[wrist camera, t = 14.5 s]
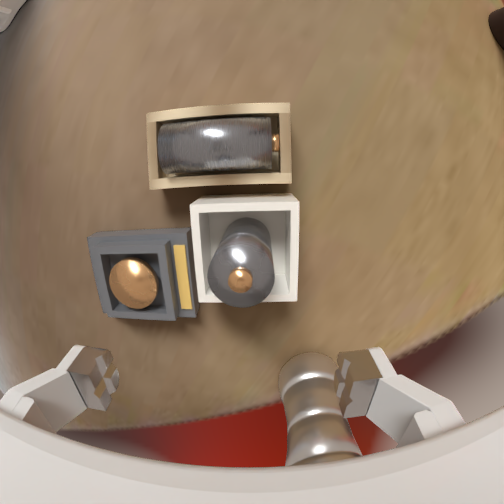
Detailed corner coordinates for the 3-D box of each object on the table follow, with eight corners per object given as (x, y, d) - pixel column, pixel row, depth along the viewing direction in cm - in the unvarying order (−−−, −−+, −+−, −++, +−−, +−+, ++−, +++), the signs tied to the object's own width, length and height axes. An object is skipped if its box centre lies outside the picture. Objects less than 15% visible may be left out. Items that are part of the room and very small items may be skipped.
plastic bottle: (333, 383, 31) (371, 533, 12) (277, 389, 31) (285, 547, 12) (337, 341, 29) (395, 510, 10) (275, 347, 29) (286, 531, 10)
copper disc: (118, 303, 25) (114, 307, 24) (108, 257, 24) (104, 260, 23) (162, 305, 25) (160, 309, 24) (155, 256, 23) (151, 260, 23)
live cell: (174, 172, 23) (159, 175, 19) (172, 126, 22) (156, 121, 18) (277, 168, 23) (281, 169, 19) (276, 120, 22) (279, 112, 18)
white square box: (208, 277, 27) (198, 302, 22) (202, 195, 25) (189, 204, 20) (290, 275, 27) (296, 301, 22) (291, 193, 24) (299, 201, 20)
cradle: (111, 304, 28) (97, 320, 25) (97, 231, 26) (78, 242, 23) (199, 307, 28) (192, 326, 25) (191, 227, 26) (181, 237, 22)
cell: (224, 263, 25) (208, 312, 17) (222, 218, 24) (202, 249, 16) (270, 262, 25) (275, 312, 17) (270, 216, 24) (275, 247, 16)
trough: (161, 185, 24) (149, 189, 22) (158, 117, 22) (146, 113, 20) (287, 180, 24) (291, 183, 21) (286, 109, 22) (289, 103, 19)
